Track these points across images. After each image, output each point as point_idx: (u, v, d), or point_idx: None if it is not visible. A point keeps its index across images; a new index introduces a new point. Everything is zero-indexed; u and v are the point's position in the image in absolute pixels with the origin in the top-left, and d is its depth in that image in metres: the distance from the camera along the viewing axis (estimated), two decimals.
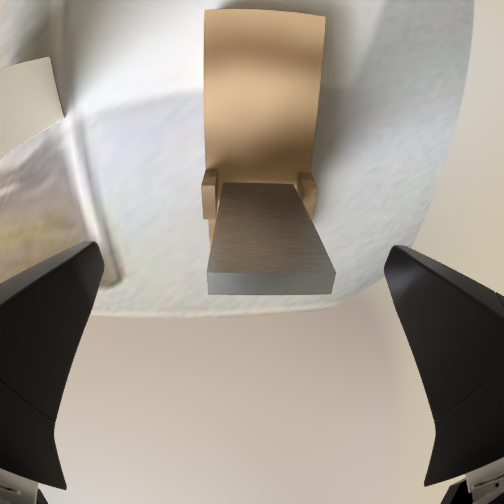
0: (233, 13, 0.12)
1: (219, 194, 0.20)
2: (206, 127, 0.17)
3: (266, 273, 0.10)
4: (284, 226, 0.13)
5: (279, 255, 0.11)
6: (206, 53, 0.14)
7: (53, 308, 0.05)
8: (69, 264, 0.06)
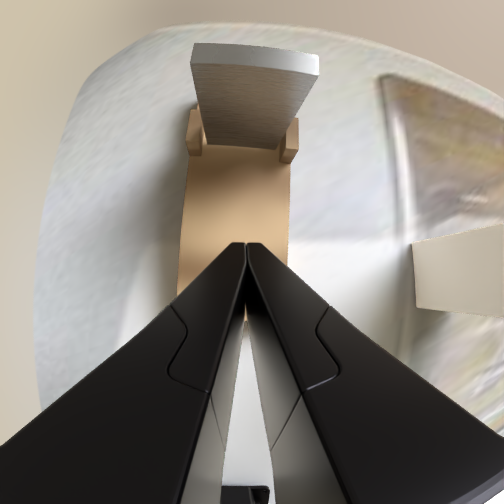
0: None
1: None
2: (287, 204, 0.19)
3: (261, 66, 0.09)
4: (229, 105, 0.12)
5: (243, 80, 0.10)
6: None
7: (239, 321, 0.06)
8: (247, 268, 0.06)
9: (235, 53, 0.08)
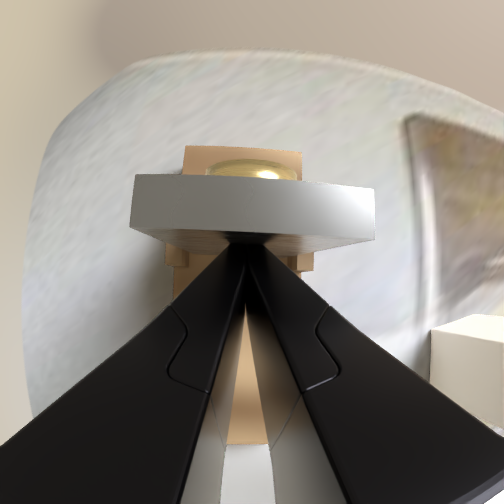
0: (263, 440, 0.15)
1: None
2: None
3: (269, 230, 0.05)
4: (216, 245, 0.09)
5: (235, 237, 0.06)
6: None
7: (239, 321, 0.06)
8: (247, 268, 0.06)
9: (215, 200, 0.05)
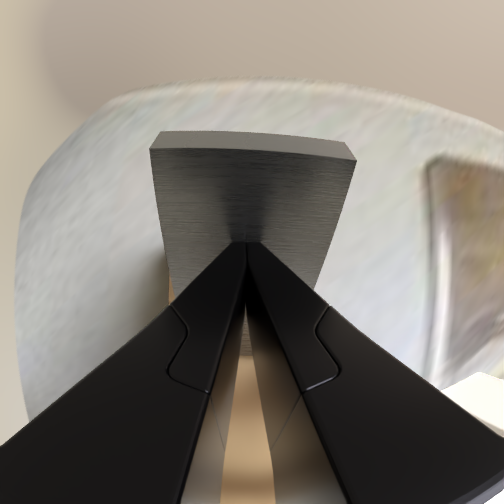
0: None
1: None
2: None
3: (265, 151, 0.06)
4: None
5: (236, 193, 0.07)
6: None
7: (239, 321, 0.06)
8: (247, 268, 0.06)
9: (222, 138, 0.06)
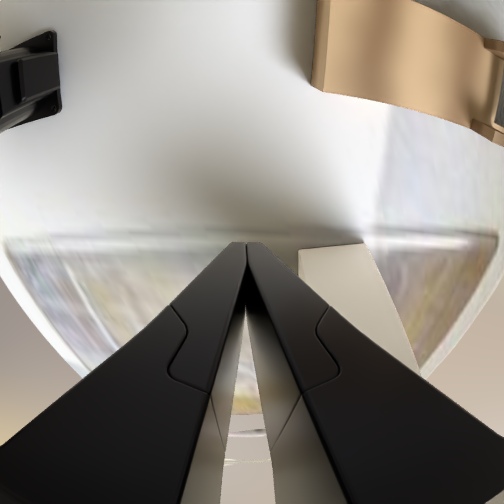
0: (331, 64, 0.12)
1: (489, 124, 0.13)
2: (439, 116, 0.13)
3: None
4: None
5: None
6: (373, 97, 0.13)
7: (239, 321, 0.06)
8: (247, 268, 0.06)
9: None
